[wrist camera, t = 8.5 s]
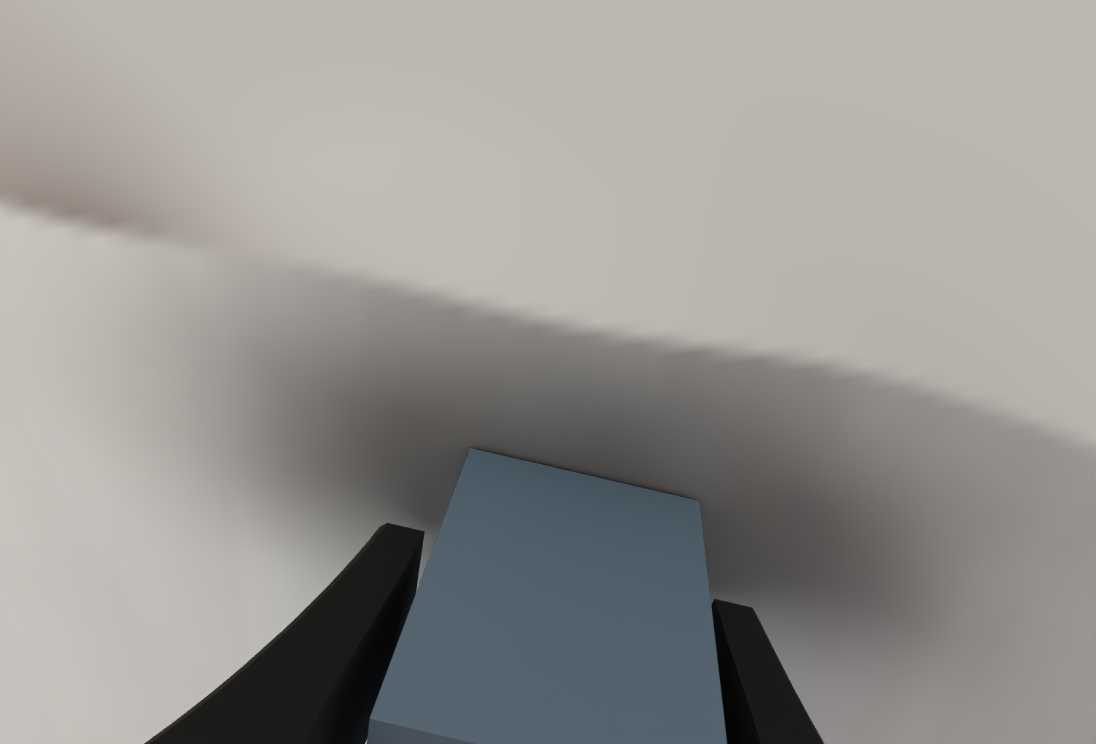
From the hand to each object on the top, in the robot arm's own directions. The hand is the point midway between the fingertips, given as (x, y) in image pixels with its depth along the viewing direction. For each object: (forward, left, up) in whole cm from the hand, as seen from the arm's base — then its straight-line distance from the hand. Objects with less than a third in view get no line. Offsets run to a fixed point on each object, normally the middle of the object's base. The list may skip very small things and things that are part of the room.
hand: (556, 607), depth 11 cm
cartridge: (0, +5, -2) cm, 5 cm away
